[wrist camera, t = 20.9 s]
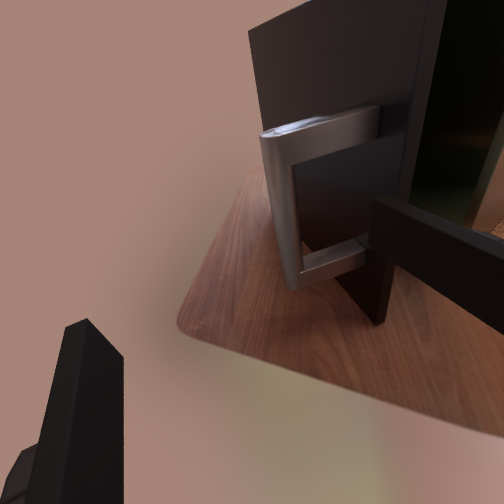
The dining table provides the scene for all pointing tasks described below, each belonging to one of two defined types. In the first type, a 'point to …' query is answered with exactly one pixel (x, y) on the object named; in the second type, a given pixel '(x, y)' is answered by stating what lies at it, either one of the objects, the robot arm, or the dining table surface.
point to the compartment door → (342, 131)
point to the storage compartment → (465, 120)
